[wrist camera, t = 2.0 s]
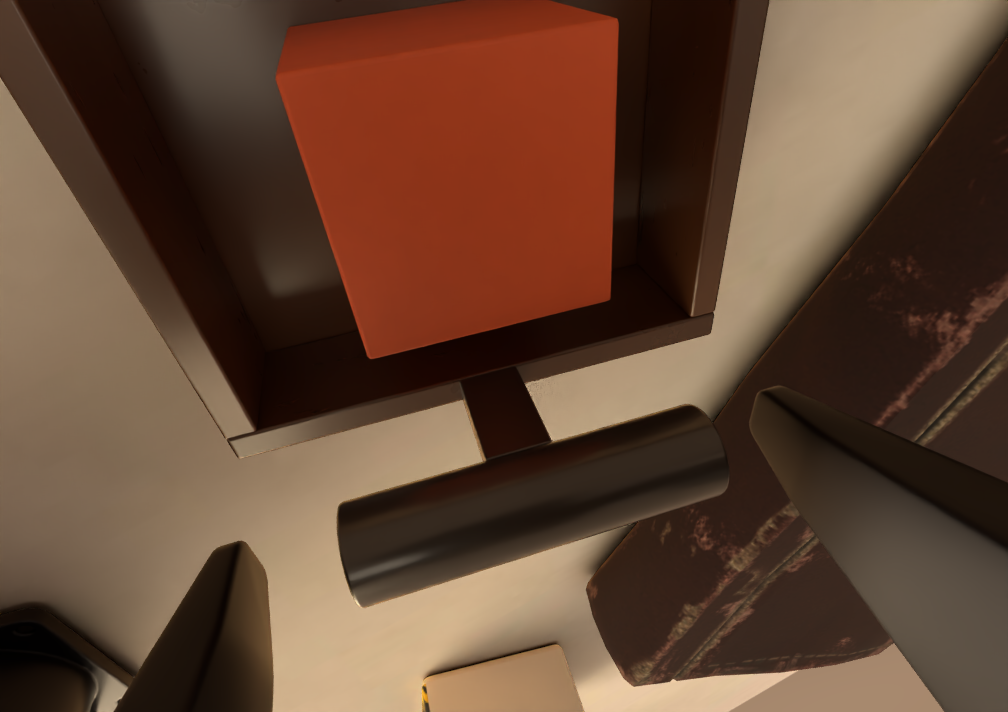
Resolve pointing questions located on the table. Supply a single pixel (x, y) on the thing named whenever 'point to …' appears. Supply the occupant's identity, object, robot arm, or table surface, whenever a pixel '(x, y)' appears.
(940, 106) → the table surface
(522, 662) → the medicine bottle
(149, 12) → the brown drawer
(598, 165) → the cube
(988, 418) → the diary
